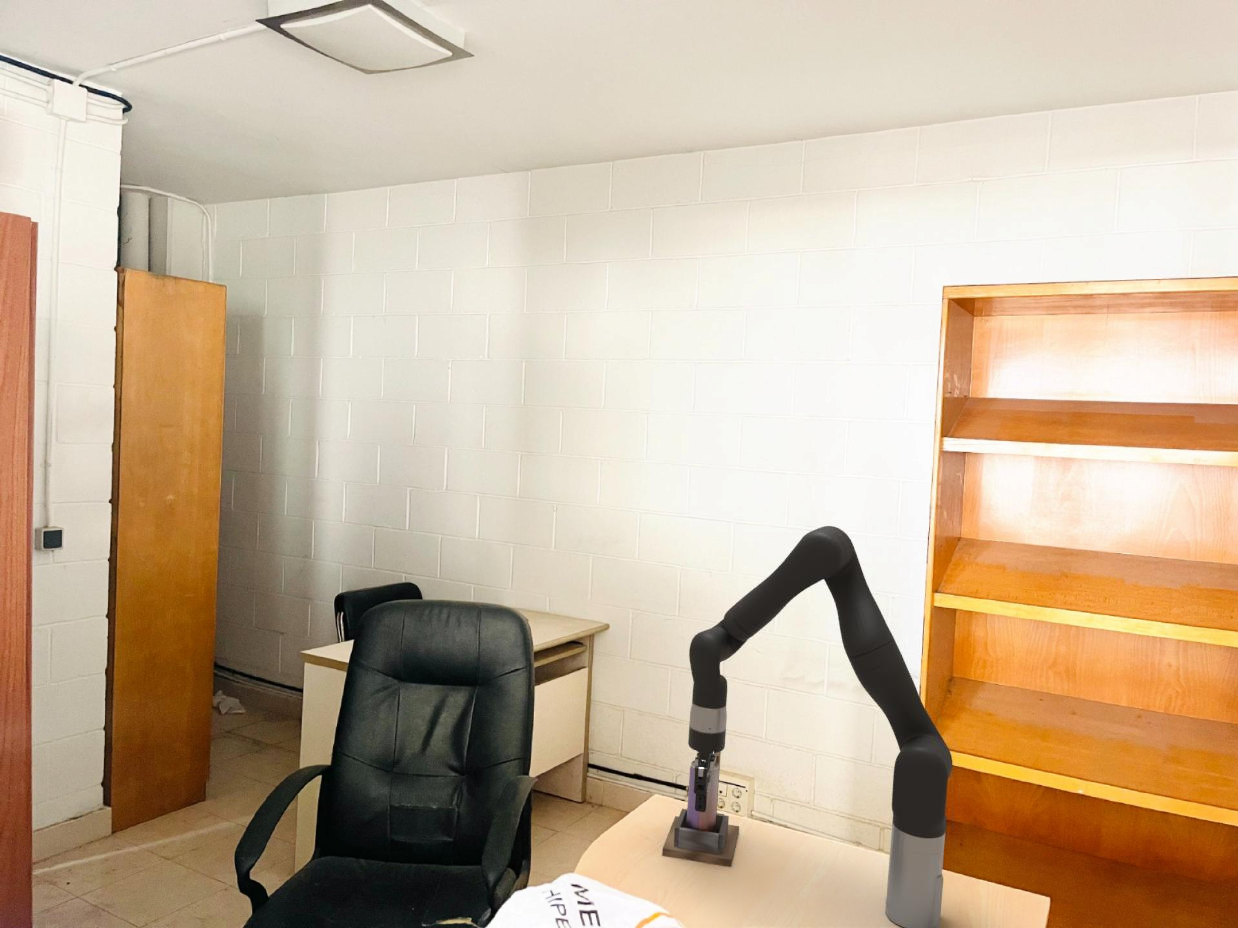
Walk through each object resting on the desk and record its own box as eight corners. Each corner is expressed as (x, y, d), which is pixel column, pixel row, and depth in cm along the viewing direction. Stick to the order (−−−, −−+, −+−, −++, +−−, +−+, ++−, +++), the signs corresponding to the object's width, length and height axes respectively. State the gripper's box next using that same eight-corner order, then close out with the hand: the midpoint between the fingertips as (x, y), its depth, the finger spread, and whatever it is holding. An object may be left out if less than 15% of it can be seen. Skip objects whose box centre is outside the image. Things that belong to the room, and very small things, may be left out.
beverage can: (682, 838, 188) (687, 766, 187) (689, 825, 193) (693, 756, 192) (711, 843, 186) (716, 771, 185) (717, 831, 192) (721, 761, 190)
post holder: (738, 832, 198) (744, 754, 196) (731, 866, 183) (736, 781, 182) (674, 822, 201) (679, 744, 199) (662, 855, 186) (667, 771, 185)
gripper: (721, 739, 180) (716, 822, 181) (729, 715, 194) (724, 792, 195) (684, 734, 182) (678, 816, 183) (694, 711, 196) (689, 787, 197)
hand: (702, 803), depth 189 cm, fingers closed on beverage can, 6 cm apart
